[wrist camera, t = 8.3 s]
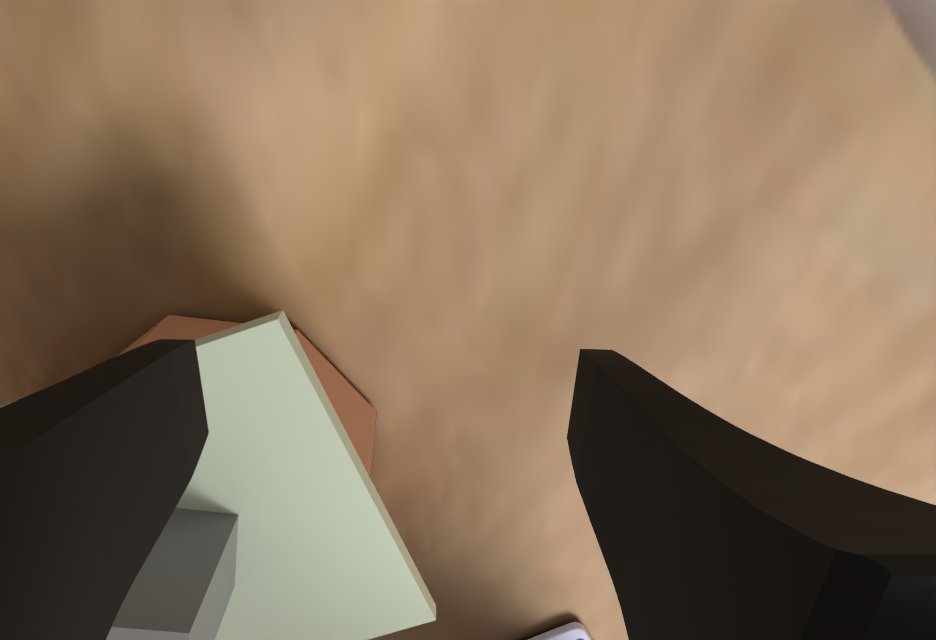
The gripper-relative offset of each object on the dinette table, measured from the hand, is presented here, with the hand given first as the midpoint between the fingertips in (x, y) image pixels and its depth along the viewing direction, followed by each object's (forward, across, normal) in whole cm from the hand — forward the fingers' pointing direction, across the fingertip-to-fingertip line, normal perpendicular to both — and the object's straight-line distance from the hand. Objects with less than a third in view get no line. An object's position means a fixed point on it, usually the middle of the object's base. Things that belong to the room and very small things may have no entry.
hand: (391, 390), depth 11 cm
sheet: (+5, +6, +8) cm, 12 cm away
